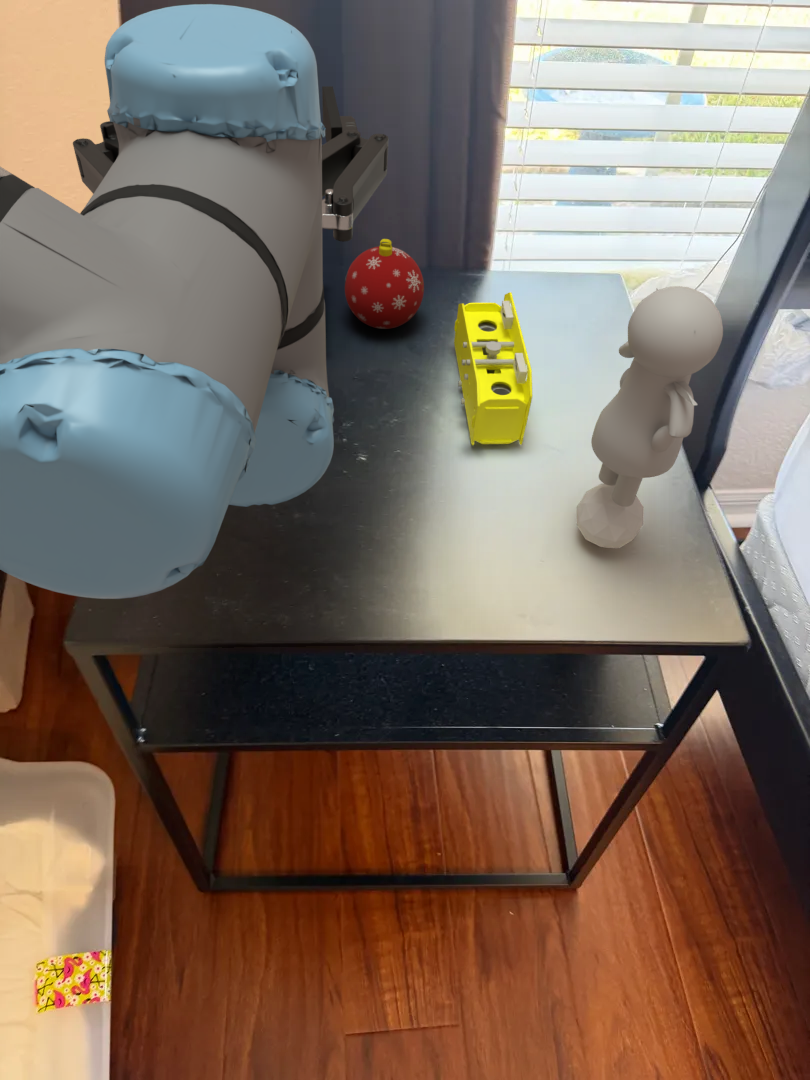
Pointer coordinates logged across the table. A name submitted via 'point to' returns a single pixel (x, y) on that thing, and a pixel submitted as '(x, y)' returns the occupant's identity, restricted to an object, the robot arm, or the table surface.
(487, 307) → the yellow toy chassis
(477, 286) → the table surface
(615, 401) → the toy character
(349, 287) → the christmas ornament
